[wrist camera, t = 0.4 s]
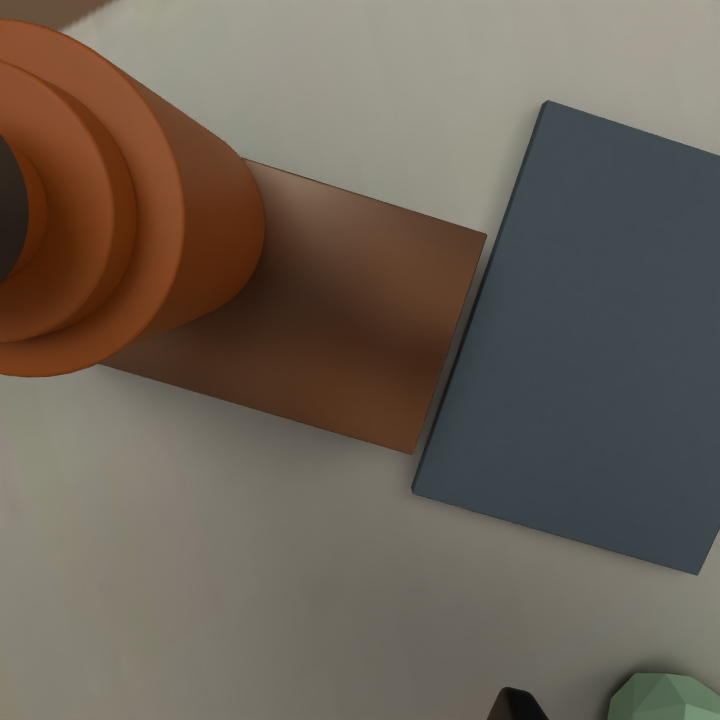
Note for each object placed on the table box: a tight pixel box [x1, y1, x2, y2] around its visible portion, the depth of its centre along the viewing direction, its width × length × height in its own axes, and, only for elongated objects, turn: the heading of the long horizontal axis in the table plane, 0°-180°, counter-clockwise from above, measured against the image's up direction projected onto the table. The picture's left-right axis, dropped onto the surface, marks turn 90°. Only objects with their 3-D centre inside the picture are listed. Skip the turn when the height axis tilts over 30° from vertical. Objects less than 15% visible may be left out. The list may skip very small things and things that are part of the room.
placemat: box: [411, 100, 720, 575], centre depth 22 cm, size 15×12×1 cm
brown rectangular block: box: [98, 157, 487, 455], centre depth 20 cm, size 8×13×4 cm, turn 73°
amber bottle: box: [0, 19, 265, 377], centre depth 12 cm, size 6×6×11 cm
